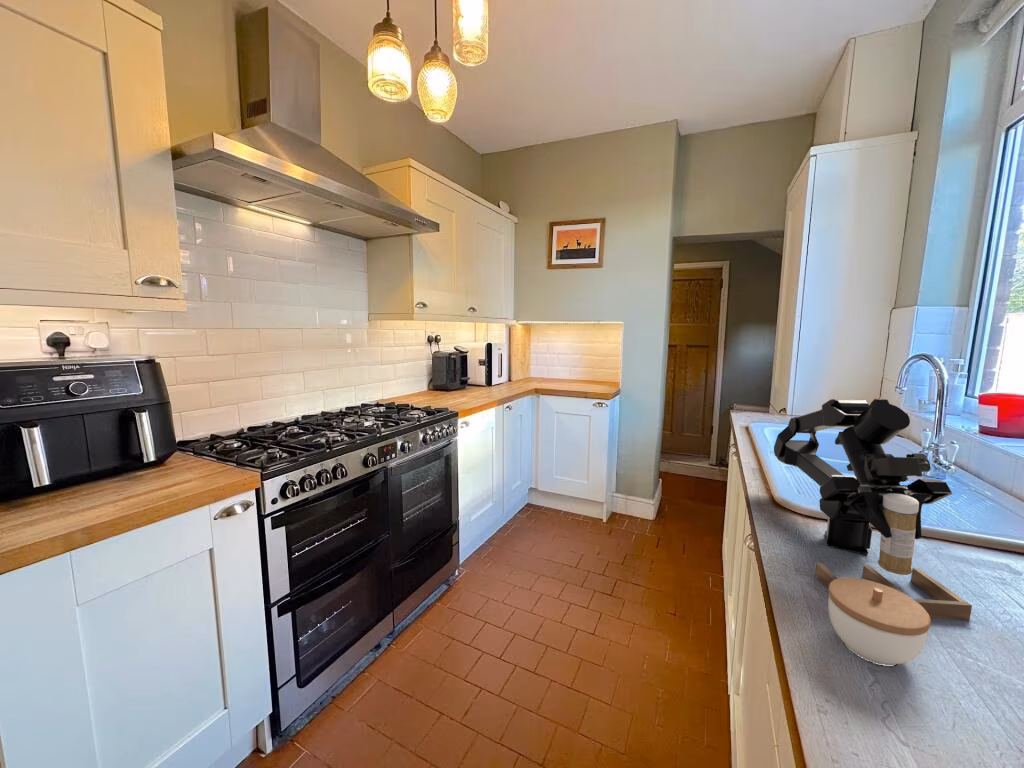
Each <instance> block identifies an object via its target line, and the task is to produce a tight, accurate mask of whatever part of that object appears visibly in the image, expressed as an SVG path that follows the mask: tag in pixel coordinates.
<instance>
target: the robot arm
mask: <svg viewBox="0 0 1024 768" xmlns="http://www.w3.org/2000/svg"><path fill="white" fill-rule="evenodd" d="M910 424H911V418H910V416H909V414H908V413H907V412H905V411H904V410H903V409H901V407H898V406H897V405H894V404H890V402H889V400H888V399H887V398H874V399H873V400H872V401H871V402H870V403H868V400H866V399H851V398H850V399H848V398H847V399H841V398H840V399H839V398H835V399H833V398H831V399H829V400H828V401H826V402H824V403H823V404H822V405H821V409H819V410H816V411H813V412H810V413H807V414H804V415H801V416H800V415H799V416H794V417H791V418H790V419H789V421H788V425H787V426H786V427H785V428H784V429H783V430H782V431H780V432H779V433H778V434H777V436H776V439H775V442H774V446H773V454H774V456H775V457H776V459H777V460H778V461H779V462H781V463H783V464H785V465H789V466H793V467H796V468H798V469H800V470H801V471H802V472H803V473H804V474H805V475H807V476H808V477H809V478H810V479H811V480H812V481H814V482H815V483H816V484H817V485H818V486H819V494H820V496H821V498H819V500H818V501H819V509H820V511H821V512H822V513H823V514H825V515H826V516H827V517H828V518H827V526H826V530H825V531H824V535H825V542H826V543H825V544H826V546H828V547H830V548H836V549H840V550H844V551H848V552H853V553H857V554H861V555H866V556H867V555H868V553H869V552H868V550H869V549H871V542H872V537H873V536H872V534H873V529H872V527H871V526H873V527H874V529H876V530H877V531H878V532H879V533H880V535H881V534H882V535H883V536H884V537H886V538H890V537H892V535H891V532H890V528H889V526H888V524H887V521H886V519H885V517H884V515H883V511H884V508H883V507H884V506H883V496H884V495H885V494H889V493H896V494H902V495H907V496H910V497H913V498H915V499H916V500H917V501H918V502H919V510H918V512H917V515H916V526H915V528H916V532H915V540H920V539H921V538H922V507H923V505H931V504H934V503H936V502H938V501H940V500H942V499H944V498H946V497H949V496H950V495H952V494H953V492H952V490H951V488H950V486H949V485H948V483H947V481H944V480H941V479H938V478H937V479H935V478H933V479H931V478H930V479H929V478H921V477H923V473H926V472H930V471H931V469H932V468H931V462H930V460H929V459H928V458H927V456H926V454H925V453H921V452H918V453H916V452H915V453H914V452H913V453H907V454H906V455H905V457H904V456H899V457H898V456H894V455H893V454H891V453H886V452H885V451H884V448H883V446H882V445H885V444H888V443H889V442H890V441H892V440H893V438H895V437H896V436H898V435H899V434H900V433H901V432H903V431H904V430H905V429H906V428H908V427H909V425H910ZM836 427H837V428H838V427H844V428H845V429H844V430H842V431H838V433H837V434H838V435H837V437H836V438H835V440H834V444H835V445H837V446H838V445H840V446H842V448H843V450H844V453H845V455H846V457H847V459H848V462H849V463H848V465H846V469H847V471H848V472H853V473H854V475H849V474H848V475H847V474H843V473H842V472H840V471H839V470H837V469H836V468H835V467H834V466H832V465H830V464H829V463H828V462H826V461H825V460H824V459H822V458H821V457H819V455H816V454H817V451H818V450H819V445H820V443H819V441H818V439H817V436H816V434H817V432H819V431H824V430H828V429H832V428H833V429H834V428H836ZM797 434H809V440H803V439H802V440H799V439H793V438H794V437H795V436H796V435H797ZM914 476H915V477H918V479H917V480H915V481H913V482H910V483H909V484H900V483H901V482H902V483H905V482H906V481H908V480H909V478H908V477H914ZM919 477H920V478H919Z"/></svg>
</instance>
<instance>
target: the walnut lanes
mask: <svg viewBox="0 0 1024 768" xmlns="http://www.w3.org/2000/svg"><path fill="white" fill-rule="evenodd" d="M814 566H815V567H814V575H813V576H814V577H816V579H817V580H818V581H820V582H821V584H822V585H823V586H824V587H825V588H826V589H827V590H828V589H829V584H830V583H831V582H832V581H833V580H835V579H838V577H837V576H836V575H835V574H834V573H833V572H832V571H831V570H830V569H828V567H826V566H825V564H823V563H822V562H815V564H814ZM862 566H863V567H862V574H861V579H865V580H870V581H873V582H877V583H880V584H883V585H886V586H888V587H891V588H893V589H895V590H898V591H900V592H901V593H903V594H905V595H907V594H906V593H904V592H903V591H902V590H901V589H900V588H898V587H897V586H896V585H895V584H893V583H892V582H891V581H889V580H888V579H887V578H886V577H885V576H883V575H882V574H881V573H879V572H878V571H877V570H876V569H874V567H872V566H871V565H868V564H864V565H862ZM911 569H912V573H911V574H910V575H911V576H910V582H912V583H914V584H915V585H916V586H917V587H919V588H920V589H921V590H922V591H924V592H925V593H927V594H928V595H929V596H930V597H932V598H933V599H925V598H923V599H922V598H912V599H913V600H915V601H916V602H917V603H919V604H920V605H921V606H922V607H923V608H924V609H925V610H926V611H927V613H928V614H929V616H930V618H934V619H947V618H948V619H950V620H961V621H962V620H966V621H971V620H970V619H971V615H972V608H973V605H972V604H971V603H969V602H968V601H967V600H965V599H963V598H962V597H961V596H959V595H958V594H957V593H955V592H953V591H952V590H951V589H949V588H948V587H947V586H945V585H943V584H942V583H941V582H939V581H938V580H936V579H935V578H934V577H932V576H931V575H929V574H928V573H927V572H925V571H924V570H922V569H921V568H919V567H911Z"/></svg>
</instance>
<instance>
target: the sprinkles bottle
mask: <svg viewBox="0 0 1024 768" xmlns="http://www.w3.org/2000/svg"><path fill="white" fill-rule="evenodd" d="M883 506H884V507H883V508H884V511H883V515H884V517H885V519H886V521H887V524H888V526H889V528H890V532H891V535H892V537H890V538H886V537H884V536H883V535H882V534H881V533H880V542H879V543H880V544H879V558H878V560H877V564H878V566H879V567H880V568H882V569H883V570H885V571H887V572H889V573H892V574H895V575H899V576H900V575H901V576H902V575H903V576H908V575H912V563H913V557H914V551H915V540H916V539H915V532H916V528H915V526H916V515H917V512H918V510H919V502H918V501H917V500H916V499H915V498H913V497H910V496H907V495H902V494H896V493H889V494H885V495H884V496H883Z"/></svg>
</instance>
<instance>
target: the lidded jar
mask: <svg viewBox="0 0 1024 768" xmlns="http://www.w3.org/2000/svg"><path fill="white" fill-rule="evenodd" d="M837 578H838V577H837ZM827 590H828V592H827V593H828V602H827V606H828V607H827V608H828V617H829V619H830V620H829V621H830V622H831V625H832V627H833V630H834V631H835V633H836V635H837V636H838V637H839V639H840V640H841V641H842V642H843V643H845V644H844V645H845V647H846V648H847V649H848V650H849V651H850V652H851V651H852V652H851V653H853V654H854V653H855V654H857V655H859V656H860V657H863V658H864V659H866V660H869V661H871V662H874V663H878V664H885V665H896V664H898V665H902V664H907V663H909V662H911V661H913V660H914V659H915V658H917V656H919V655H920V653H921V652H922V651H923V648H924V647H925V644H926V642H927V638H928V631H929V629H930V627H931V617H930V616H929V614H928V613H927V611H926V610H925V609H924V608H923V607H922V606H921V605H920V604H919V603H917V602H916V601H915V600H913V599H914V598H912V597H910V595H907V594H906V593H904V592H903V593H904V594H903V593H901V592H900V591H898V590H895V589H893V588H891V587H888V586H886V585H883V584H880V583H877V582H873V581H870V580H865V579H863V578H859V577H839V578H838V579H835V580H833V581H832V582H831V583H830V584H829V589H827ZM905 594H906V595H905ZM855 654H854V655H855ZM857 655H856V656H857ZM860 657H859V658H860ZM864 659H863V660H864ZM866 660H865V661H866ZM896 666H897V665H896Z"/></svg>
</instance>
